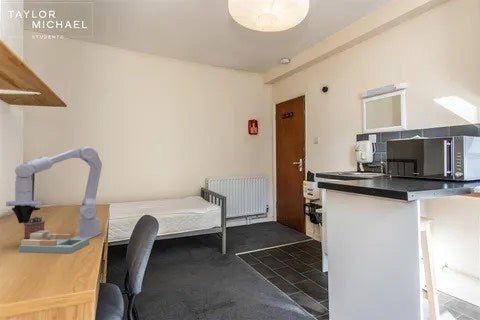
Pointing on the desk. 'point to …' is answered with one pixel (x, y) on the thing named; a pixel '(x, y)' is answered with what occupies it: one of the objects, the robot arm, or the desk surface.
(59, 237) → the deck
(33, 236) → the block
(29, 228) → the lighter
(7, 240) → the desk surface
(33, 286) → the desk surface
